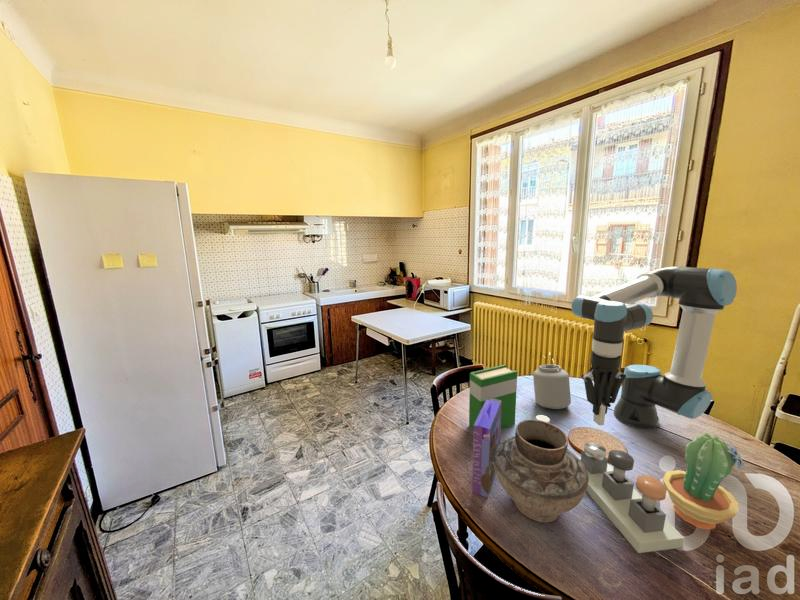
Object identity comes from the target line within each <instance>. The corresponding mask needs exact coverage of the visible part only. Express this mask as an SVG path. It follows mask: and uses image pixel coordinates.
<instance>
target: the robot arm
mask: <svg viewBox="0 0 800 600" xmlns="http://www.w3.org/2000/svg"><path fill="white" fill-rule="evenodd" d="M737 285H738V284H737V280H736V277H735V275H734V274H733V273H732V272H731V271H729V270H726V269H718V268H713V267H712V268H710V267H709V268H705V267H693V266H692V267H690V266H681V265H679V266H675V265H674V266H668V267H667V266H666V267H661V268H656V269H654V270H650V271H647V272H645V273H642V274H639V276H638V277H636V278H635V279H634V280H631V281H628V282H626V283H624V284H620V285H618V286H616V287H614V288H613V287H612V288H611V289H608V290H606V291H602V292H600V293H598V294H594V295H593V296H588V295H577V296H576V297H575V298H574V299H573V301H572V303H571V312H572V314H573V315H575V316H576V317H580V318H582V319H587V320H590V321H591V320H592V321H593V334H592V340H591V341H592V342H591V350H592V351H591V353H590V365H591V366H590V368H589V371H588V373H583V374H581V379H583V381H584V382H583V383H584V387H585V389H584V390H585V394H586V400H587V402H589V403H590V404H591V405H592V413H593V422H594V423H595V424H597V425H598V426H604V425H605V418H606V417H605V416H606V415H607V413H608V408H610V407H611V406H612V405H611V404H615V402H616V400H617V398H618V394H619V391H620V389H621V393H620V398H619V400H618V401H617V403H616V405H615V406H614V407H613V408H614V409H613V415H614V417H615V418H616V419H618V420H619V421H620V422H622V423H624V424H626V425H629V426H631V427H634V428H638V429H644V430H650V429H655V428H657V427H658V426H659V423H660V419H659V416H658V411H657V407H656V406H658V407H661V408H663V409H665V410H667V411H670V412H672V413H675V414H676V415H677V416H683V417H685V418H688V419H689V420H690V419H698V418H699V417H701V416H702V415H703V414H704V413H705V412H706V411H707V409H708V407H709V406H710V405H711V401H712V397H713V396H712V392H710V391H709V390H707V389H706V387H707V383H706V382H705V380H704V379H703V378H702V377H703V372H704V368H705V363H706V361H707V356H708V352H709V351H708V350H709V346H710V343H711V339H712V338H711V337H712V335H713V334H712V333H713V328H714V324H715V319H716V315H717V314H718V313H720V312H722V311H724V308H725V306H730V305H732V303H733V302H734V300H735V299H736V296H737V291H738V290H737V288H738V287H737ZM657 297H667V298H673V299H679V300H678V303H677V304H678V306H679V307H680V308H681V309H682V312H681V318H680V322H679V326H678V331H677V337H676V341H675V347H674V352H673V357H672V362H671V366H670V371H668V372H665V373H664V374H663V375H662V372H661V369H659V368H658V367H656V366H651V365H647V364H630V365H627V366H626V367H625V368H624V370H623V372H621V371H620V369H619V368H620V367H621V360H622V352H623V343H624V334H625V332H627V331H632V330H633V331H634V330H637V329H638V330H639V329H642V328H644V327H646V326H648V325H650V324H651V323H652V321H653V320H654V319H653V318H654V313H653V311H652V309H651V308H650V306H648V305H647V304H645V303H641V302H639V301H642V300H644V299H647V298H649V299H652V298H657ZM637 302H638V303H637Z"/></svg>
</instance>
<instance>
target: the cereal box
mask: <svg viewBox="0 0 800 600" xmlns="http://www.w3.org/2000/svg"><path fill="white" fill-rule="evenodd" d="M501 403H502V401H501V400H497V399H494V398H487V399H486V401H485V403H484V405H483V407H482V409H481V411H480V413H479V415H478V417H477V419H476V421H475V423H474V428H473V429H472V430H473V432H472V433H473V434H472V435H473V437H472V441H473V442H472V444H473V445H472V486H471V487H472V488H471V489H472V494H473V495H474V494H475V495H477V494H478V495H477V496H480V497H482V496H483V497H482V498H485V497H486V499H489V496H490V492H491V490H492V487H493V483H494V480H495V477H496V475H497V474H496V471H495V467H494V460H493V454H494V450H495V448H496V446H497V445H498V444H499V443H500V442H501V430H502V429H501ZM491 486H492V487H491Z"/></svg>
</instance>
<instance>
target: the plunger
mask: <svg viewBox="0 0 800 600" xmlns="http://www.w3.org/2000/svg"><path fill="white" fill-rule="evenodd" d="M583 449H584V453H585V454H586V455H587V456H588V457H590V458H592V459H595V460H604V459H605V458H607V449H606V447H604V446H603V445H601V444H599V443H597V442H593V441H592V442H591V441H589V442H585V443H584V447H583Z"/></svg>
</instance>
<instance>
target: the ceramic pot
mask: <svg viewBox="0 0 800 600" xmlns="http://www.w3.org/2000/svg"><path fill="white" fill-rule="evenodd" d="M568 446H569V438H568V436H567V434H566V433H565V432H564V431H563V430H562V429H561V428H559V426H556V425H554V424H552V423H551V422H550V423H547V422H545V421H541V420H536V419H525V420H522V421H520V422H519V423H517V424H516V427H515V434H514V436H510V437H507V438H505V439H503V440H501V441H500V443H499V444H498V445H497V446H496V448H495V450H494V454H493V460H494V467H495V471H496V474H495V475H496V477H497V479H498V481H499V482H498V483H500V485H501V487H502V489H503V490H504V492H505V493H506V494H507V495H508V497H510V499H512V500H513V502H514V505H515V507H516V508H517V510H518V511H519V512H520V513H521V514H523V515H524V516H525V517H527V518H529V519H531V520H534V521H535V522H538V523H551V522H553V521H554V522H555V520H557V519H558V517H559V516H560V515H563V514H565V513H568V512H570V511H571V510H573V509H574V508H575V507H577V506H578V505H579V503H580V502H581V501H582V500H583V498H584V497H585V496H586V495H585V494H586V492H587V491H586V490H587V486H588V481H589V477H588V472H587V470H586V467H585V466H584V464H583V462H582V461H581V460H580V459H579V458H578V456H577V455H576V454H575V453H574V452H573V451H571V450H570V449H569V448H568Z"/></svg>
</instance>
